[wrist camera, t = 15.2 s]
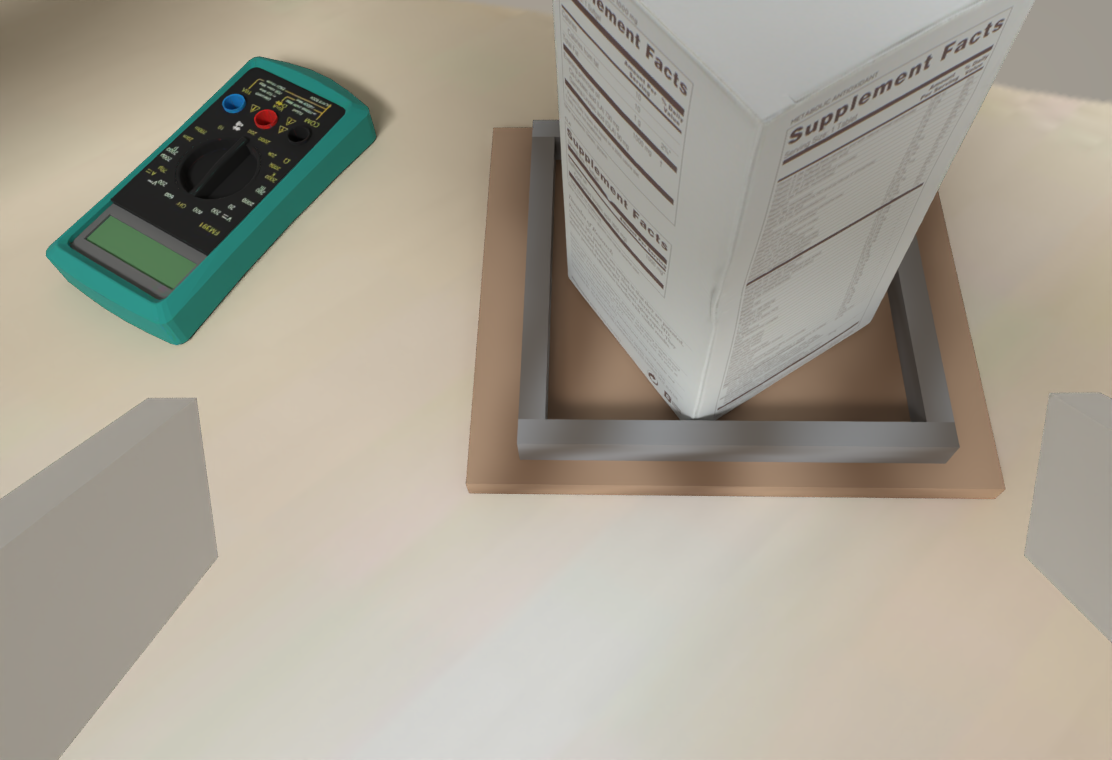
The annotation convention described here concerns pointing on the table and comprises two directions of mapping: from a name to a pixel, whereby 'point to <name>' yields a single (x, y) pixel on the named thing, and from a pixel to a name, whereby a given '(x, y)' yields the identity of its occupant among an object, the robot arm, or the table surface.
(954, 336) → the carrier plate
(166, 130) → the table surface
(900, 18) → the supplement box
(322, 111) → the digital multimeter
